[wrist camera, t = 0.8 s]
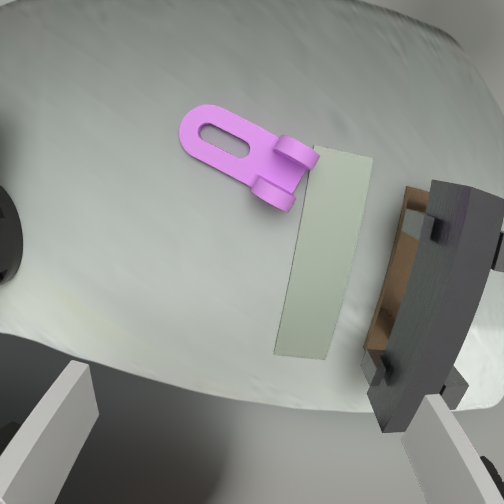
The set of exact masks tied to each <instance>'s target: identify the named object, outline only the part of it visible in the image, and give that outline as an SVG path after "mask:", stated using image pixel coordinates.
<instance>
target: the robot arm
mask: <svg viewBox="0 0 504 504" xmlns="http://www.w3.org/2000/svg"><path fill="white" fill-rule="evenodd" d="M21 256H22V231H21V225H20V221H19V217H18V214H17V211H16V208H15V206H14V204H13V202H12V200H11V198H10V197H9V195H8V194H7V192H6V191H5V190H4V189H3V188H2V187H1V186H0V285H2V284H3V283H5V282H7V281H8V280H10V279H11V278H12V277H13V276H14V275H15V273H16V272H17V270H18V267H19V265H20V261H21ZM98 416H99V412H98V408H97V403H96V399H95V395H94V390H93V385H92V380H91V375H90V369H89V364H85V363H81V362H78V361H74V360H72V361H71V362H70V363H69V364H68V365H67V367H66V368H65V369H64V370H63V372H62V373H61V374H60V376H59V377H58V378H57V379H56V381H55V382H54V383H53V385H52V386H51V387H50V388H49V390H48V391H47V392H46V394H45V395H44V397H43V398H42V399H41V401H40V402H39V403H38V404H37V406H36V407H35V408H34V410H33V411H32V412H31V414H30V415H29V417H28V418H27V419H26V421H25V422H24V423H23V425H20V424H18V423H16V422H14V421H12V422H10V423H9V424H7V425H5V426H4V427H2V428H1V429H0V504H54V503H55V501H56V499H57V496H58V494H59V492H60V490H61V488H62V486H63V484H64V482H65V480H66V478H67V476H68V474H69V472H70V470H71V468H72V466H73V464H74V462H75V460H76V458H77V456H78V454H79V452H80V450H81V448H82V446H83V444H84V442H85V440H86V438H87V437H88V435H89V433H90V431H91V429H92V427H93V425H94V423H95V421H96V420H97V418H98ZM401 442H402V444H403V446H404V449H405V451H406V453H407V456H408V458H409V460H410V463H411V465H412V467H413V470H414V472H415V475H416V477H417V480H418V482H419V484H420V487H421V489H422V492H423V494H424V497H425V499H426V502H427V504H504V482H502V479H501V477H500V475H498V472H497V470H496V469H495V467H494V465H493V464H492V463H491V462H490V461H489V460H488V459H487V458H486V457H485V456H481V457H479V456H478V454H477V452H476V451H475V449H474V448H473V446H472V444H471V442H470V441H469V439H468V438H467V436H466V434H465V433H464V431H463V430H462V428H461V426H460V425H459V423H458V422H457V420H456V419H455V417H454V415H453V414H452V412H451V411H450V409H449V408H448V406H447V405H446V403H445V402H444V400H443V399H442V397H441V396H440V394H432V395H425V396H424V398H423V400H422V402H421V404H420V406H419V408H418V410H417V412H416V414H415V415H414V417H413V419H412V421H411V423H410V424H409V426H408V428H407V430H406V431H405V433H404V435H403V437H402V438H401Z"/></svg>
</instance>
